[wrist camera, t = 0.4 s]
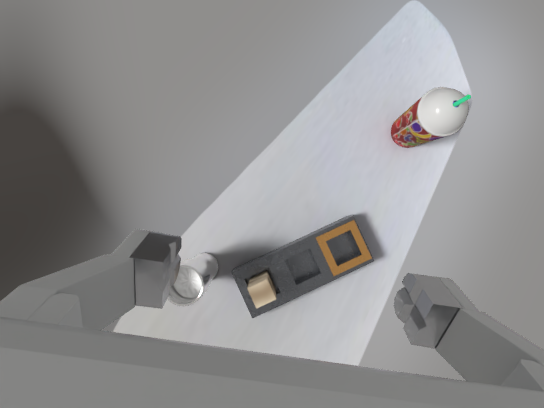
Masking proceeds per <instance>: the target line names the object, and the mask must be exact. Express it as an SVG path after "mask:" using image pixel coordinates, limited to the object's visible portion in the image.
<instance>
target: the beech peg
mask: <svg viewBox="0 0 544 408" xmlns="http://www.w3.org/2000/svg"><path fill="white" fill-rule="evenodd" d="M247 289H248V291H249V294H250V296H251V298H252V300H253V302H254V305H255V307H256V309H257V308H259V307H261V306H263V305H265V304H267V303H270V302H272V301H274V300H276V288H275V285H274V283H273V281H272V279H271V277H270V275H269V272H268V270H266V271H264V272H262V273H260V274H258V275H255V276H253V277H251V278H250V280H249V284H248V287H247Z"/></svg>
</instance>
